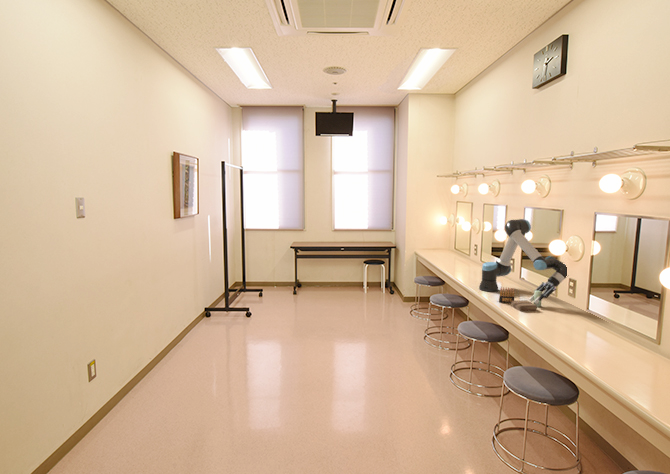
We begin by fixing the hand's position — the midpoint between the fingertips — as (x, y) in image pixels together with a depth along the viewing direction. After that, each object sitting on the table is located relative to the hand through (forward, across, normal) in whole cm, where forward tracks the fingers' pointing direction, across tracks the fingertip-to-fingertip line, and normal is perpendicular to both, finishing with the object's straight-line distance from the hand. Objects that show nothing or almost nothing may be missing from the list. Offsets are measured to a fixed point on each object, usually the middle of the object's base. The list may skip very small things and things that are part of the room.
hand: (532, 301), depth 263 cm
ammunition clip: (+13, +10, +7) cm, 18 cm away
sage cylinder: (0, 0, -5) cm, 5 cm away
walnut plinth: (+9, -4, +4) cm, 11 cm away
